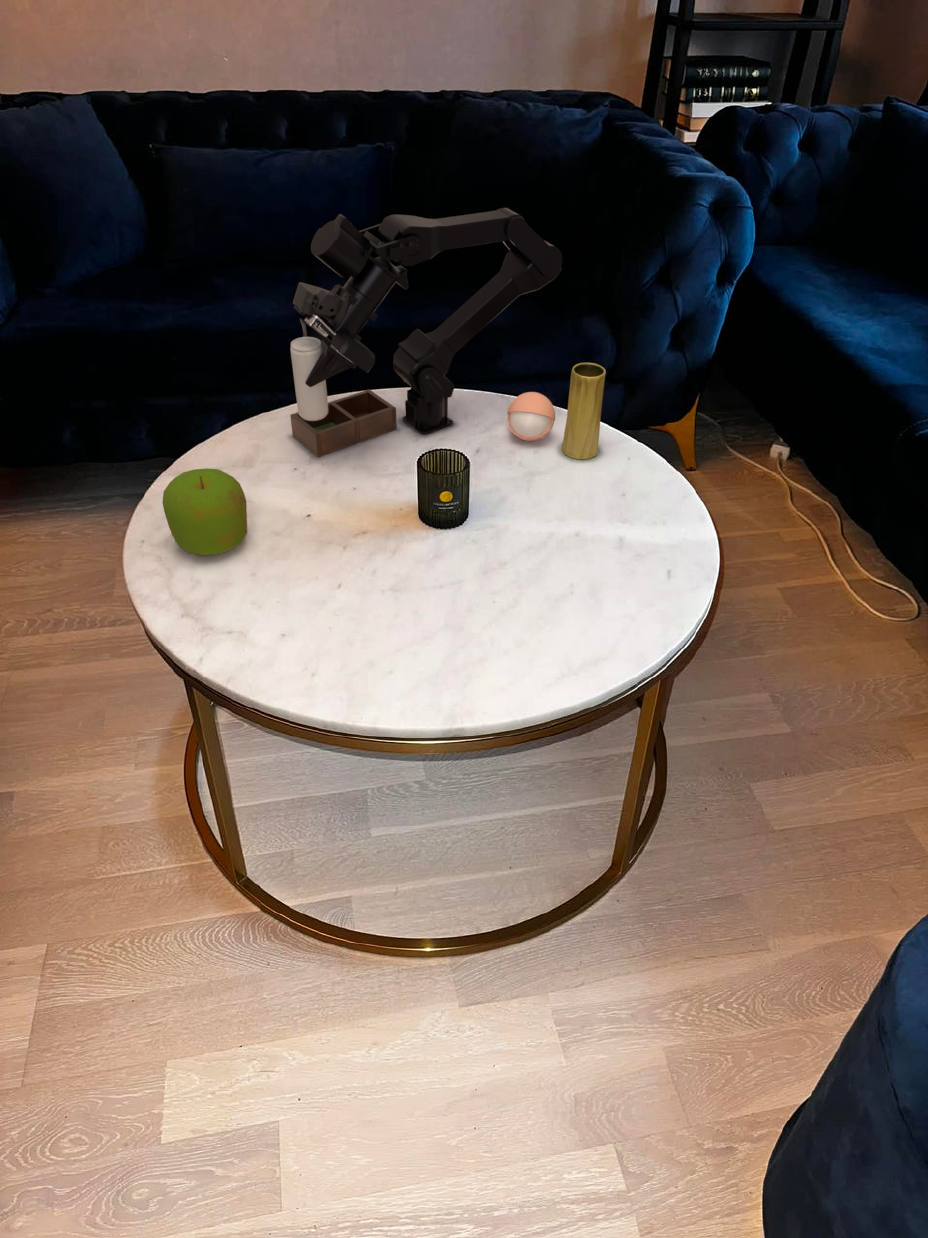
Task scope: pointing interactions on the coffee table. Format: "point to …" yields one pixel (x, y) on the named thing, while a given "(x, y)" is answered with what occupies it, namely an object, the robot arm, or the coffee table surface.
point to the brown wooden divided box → (345, 423)
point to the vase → (584, 411)
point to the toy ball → (531, 416)
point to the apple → (206, 511)
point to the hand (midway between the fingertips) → (301, 378)
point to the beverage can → (303, 361)
